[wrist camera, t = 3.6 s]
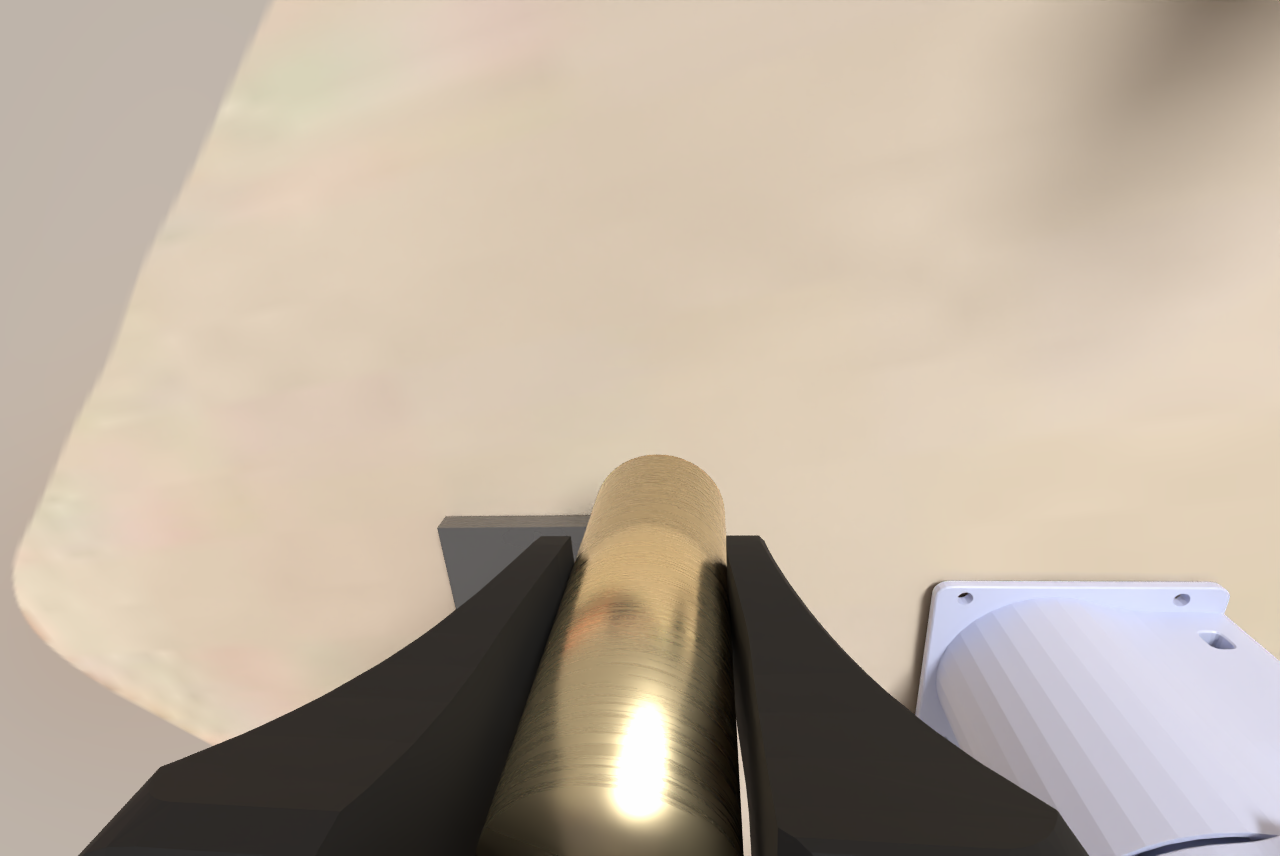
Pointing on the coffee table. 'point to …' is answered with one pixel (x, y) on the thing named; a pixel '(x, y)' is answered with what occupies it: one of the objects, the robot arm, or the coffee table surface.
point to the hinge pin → (632, 686)
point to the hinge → (496, 545)
